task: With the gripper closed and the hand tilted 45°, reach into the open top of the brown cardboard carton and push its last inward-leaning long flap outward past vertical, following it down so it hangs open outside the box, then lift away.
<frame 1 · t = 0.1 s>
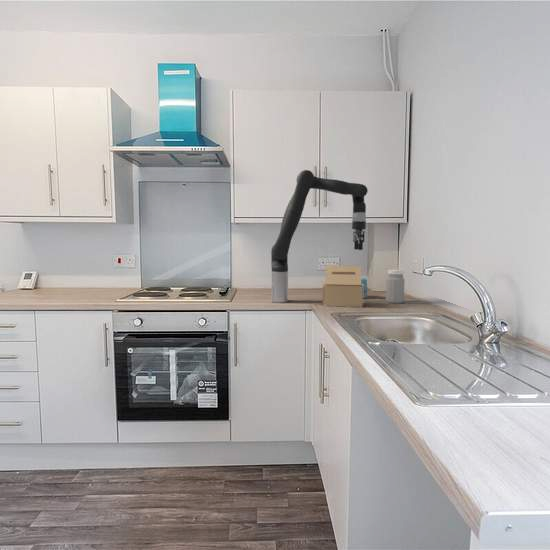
hand: (358, 249, 224), 29 cm above the counter, tool pointing down, fingers open, 8 cm apart
flap: (343, 275, 208), point 16 cm above the counter, hinge at -20.0°
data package: (357, 297, 239), on the counter
jar: (394, 302, 221), on the counter
carton: (343, 304, 214), on the counter
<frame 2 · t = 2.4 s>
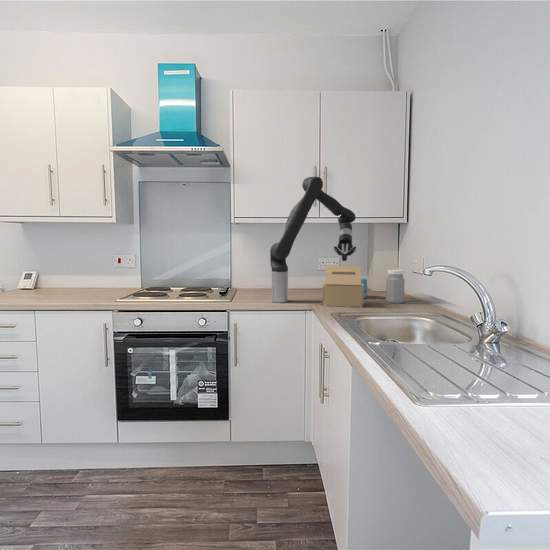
hand: (344, 260, 218), 24 cm above the counter, tool tilted 45°, fingers closed
nothing on the counter moved.
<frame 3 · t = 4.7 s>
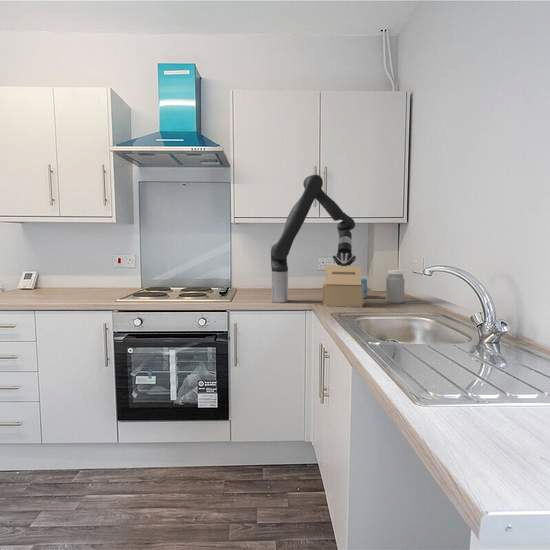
hand: (343, 270, 209), 19 cm above the counter, tool tilted 45°, fingers closed
flap: (343, 275, 208), point 16 cm above the counter, hinge at -20.0°, touching gripper
everything else where it was.
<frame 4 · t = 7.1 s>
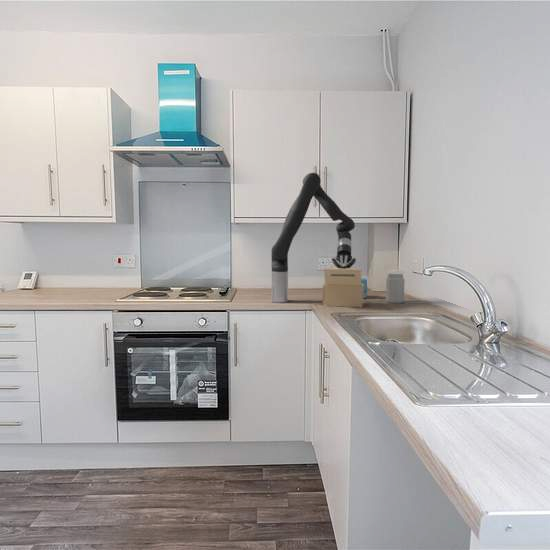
hand: (343, 273, 203), 18 cm above the counter, tool tilted 45°, fingers closed
flap: (342, 276, 203), point 16 cm above the counter, hinge at 29.4°, touching gripper
everything else where it was.
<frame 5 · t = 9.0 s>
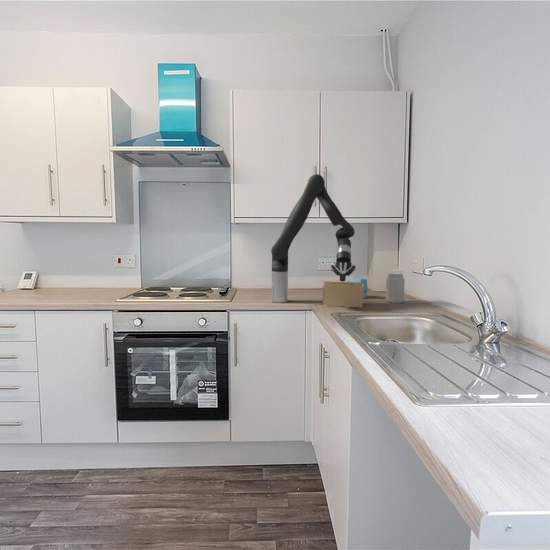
hand: (342, 281, 198), 15 cm above the counter, tool tilted 45°, fingers closed
flap: (342, 283, 201), point 13 cm above the counter, hinge at 73.2°, touching gripper
everything else where it was.
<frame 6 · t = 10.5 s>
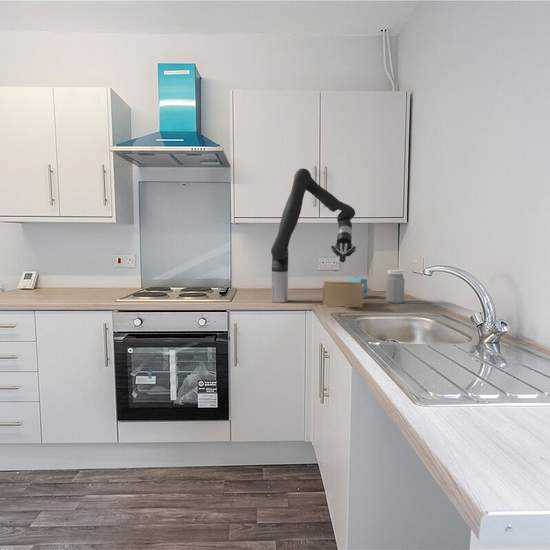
hand: (342, 261, 196), 25 cm above the counter, tool tilted 45°, fingers closed
flap: (342, 283, 201), point 13 cm above the counter, hinge at 73.4°
everything else where it was.
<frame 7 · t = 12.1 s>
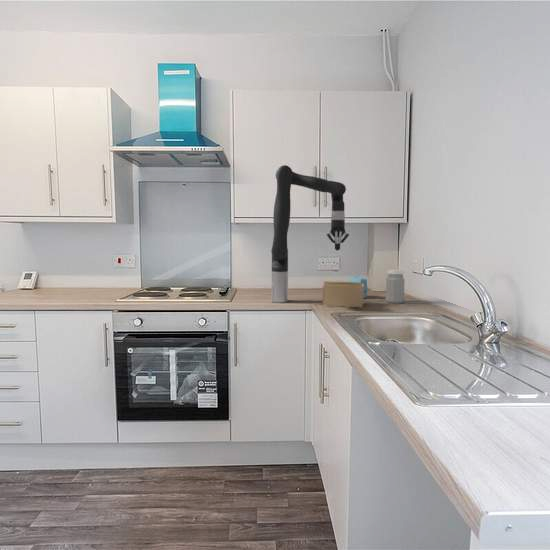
hand: (337, 250, 224), 29 cm above the counter, tool pointing down, fingers closed
nothing on the counter moved.
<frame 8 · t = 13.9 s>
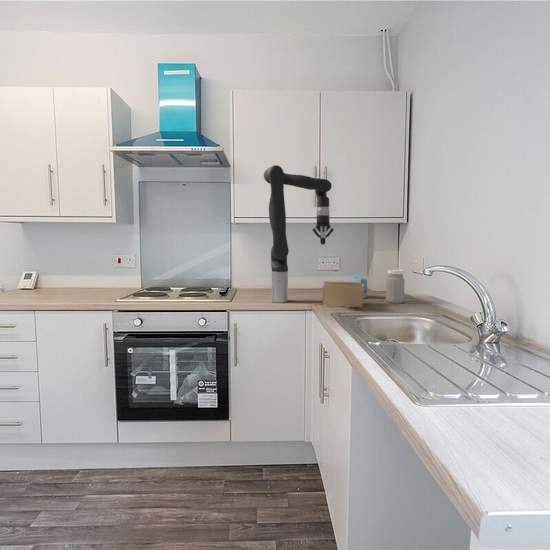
hand: (322, 244, 233), 32 cm above the counter, tool pointing down, fingers closed
nothing on the counter moved.
at the end: flap at +73° (first picture: -20°); flap touching nothing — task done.
